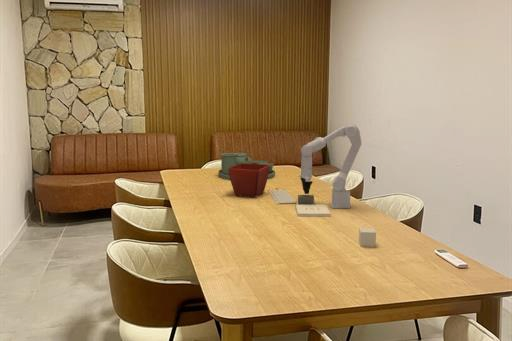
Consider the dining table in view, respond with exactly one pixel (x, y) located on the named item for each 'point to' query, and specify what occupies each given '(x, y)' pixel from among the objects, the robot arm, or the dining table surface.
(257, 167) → the plant pot
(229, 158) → the tea set
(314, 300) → the dining table surface
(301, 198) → the block
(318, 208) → the board
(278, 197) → the baseboard molding
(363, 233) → the light gray cube
